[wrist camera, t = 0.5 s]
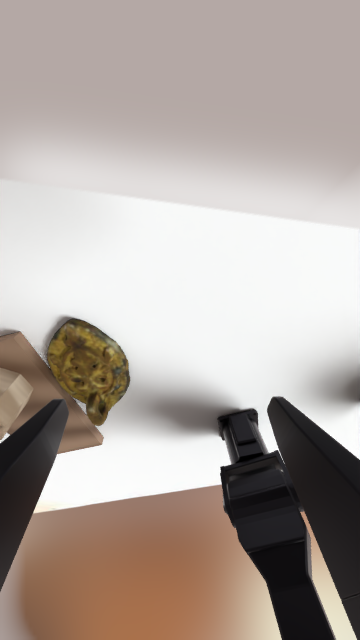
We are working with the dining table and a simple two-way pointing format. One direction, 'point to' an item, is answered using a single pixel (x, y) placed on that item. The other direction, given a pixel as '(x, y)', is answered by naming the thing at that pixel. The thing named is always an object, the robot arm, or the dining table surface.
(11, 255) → the dining table surface
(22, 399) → the beech bead
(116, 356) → the olive gold carved ornament
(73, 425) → the board
